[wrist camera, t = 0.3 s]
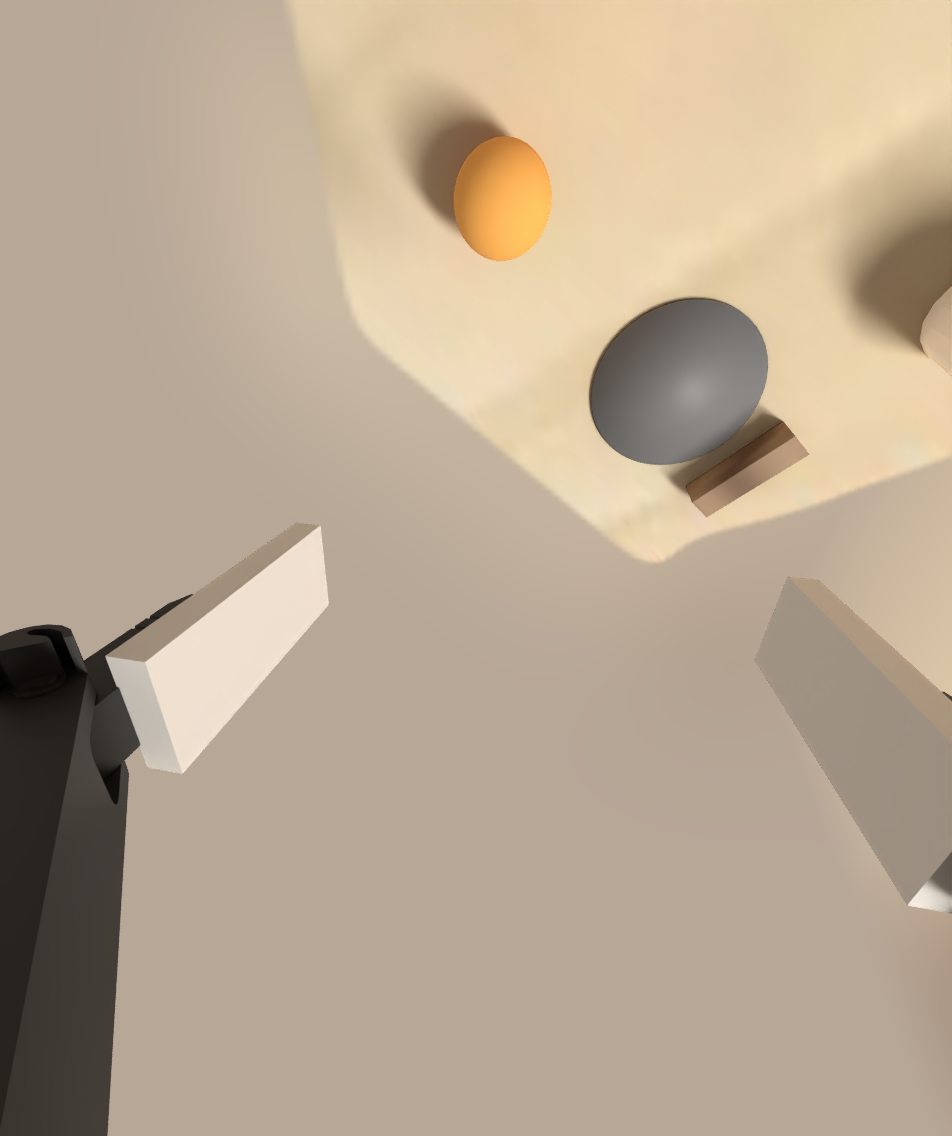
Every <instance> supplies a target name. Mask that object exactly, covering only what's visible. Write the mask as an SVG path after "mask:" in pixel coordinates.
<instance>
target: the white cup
mask: <svg viewBox="0 0 952 1136" xmlns="http://www.w3.org/2000/svg"><path fill="white" fill-rule="evenodd" d="M920 342H921V345H922V348H923V350H924V353H925V354H926V355H927V356H929V357H930V358H931V359H932V360H933V361H934V362H936V363H937V364H938V365H939V366H940V367H942V368H943V369H944V370H945V371H946V372H947V373H949V374H950V375H951V376H952V286H951V287H950V288H949V289H948V290H947V291H946V292H945V293H944V294H943V295H942V296H941V297H940V298H939V299H938V300H937V301H936V302H935V303H934V305H933V306H932V308H931V310H930V311H929V313H928V315H927V316H926V318H925V320H924V321H923V324H922V330H921V335H920Z"/></svg>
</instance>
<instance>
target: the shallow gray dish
mask: <svg viewBox="0 0 952 1136" xmlns="http://www.w3.org/2000/svg"><path fill="white" fill-rule="evenodd" d="M767 371H768V356H767V351H766V346H765V343H764V340H763V338H762V335H761V334H760V332H759V330H758V329H757V327H756V326H755V324H754V323H753V322H752V321H751V320H750V319H749V318H748V317H747V316H746V315H745V314H743V313H742V312H741V311H739V310H738V309H736V308H734V307H732V306H730V305H728V304H725V303H722V302H719V301H713V300H707V299H690V300H682V301H677V302H673V303H670V304H666V305H664V306H661V307H659V308H656V309H654V310H652V311H650V312H648V313H647V314H645V315H643V316H642V317H640V318H639V319H637V320H636V321H634V322H633V323H632V324H631V325H629V326H628V327H627V328H626V329H625V330H624V331H623V332H622V333H621V334H620V335H619V336H618V337H617V338H616V339H615V340H614V341H613V343H612V344H611V346H610V347H609V348H608V350H607V351H606V353H605V355H604V356H603V358H602V360H601V362H600V364H599V366H598V369H597V371H596V374H595V378H594V381H593V387H592V395H591V404H592V412H593V417H594V421H595V424H596V426H597V428H598V430H599V432H600V434H601V435H602V437H603V439H604V440H605V441H606V442H607V443H608V444H609V446H611V447H612V448H613V449H614V450H615V451H617V452H618V453H620V454H621V455H623V456H625V457H627V458H629V459H631V460H634V461H637V462H641V463H646V464H654V465H667V464H675V463H681V462H685V461H689V460H692V459H695V458H697V457H700V456H702V455H704V454H706V453H708V452H710V451H712V450H714V449H715V448H717V447H719V446H720V445H722V444H723V443H724V442H726V441H727V440H728V439H730V438H731V437H732V436H733V435H734V434H735V433H736V432H737V431H738V430H739V429H740V428H741V427H742V426H743V425H744V424H745V422H746V421H747V420H748V419H749V417H750V416H751V414H752V413H753V411H754V410H755V408H756V406H757V404H758V402H759V400H760V398H761V395H762V393H763V390H764V387H765V383H766V379H767Z"/></svg>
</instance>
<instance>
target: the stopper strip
mask: <svg viewBox="0 0 952 1136" xmlns="http://www.w3.org/2000/svg"><path fill="white" fill-rule="evenodd" d="M808 455H809V453H808V452H807V451H806V449H805V448H804V447H803V446H802V444H801V443H800V442H799V440H798V439H797V438H796V437H795V435H794V434H793V433H792V432H791V430H790V429H789V428H788V427H787V425H786V424H785V423H784V422H783V421H782V422H781V423H780V424H778V425H777V426H775V427H774V428H772V429H771V430H769V431H768V432H766V433H765V434H763V435H762V436H760V437H759V438H757V439H756V440H754V441H753V442H751V443H750V444H748V445H747V446H745V447H744V448H742V449H741V450H739V451H738V452H736V453H735V454H733V455H732V456H730V457H729V458H727V459H726V460H724V461H723V462H721V463H720V464H718V465H717V466H716V467H714V468H713V469H711V470H710V471H708V472H707V473H705V474H704V475H702V476H701V477H699V478H698V479H696V480H695V481H693V482H692V483H690V484H689V485H687V486H686V487H687V490H688V493H689V495H690V498H691V501H692V503H693V504H694V505H695V506H696V507H697V508H698V509H699V510H700V511H701V512H702V513H703V514H704V515H705V516H706V517H708V516H709V515H711V514H713V513H714V512H716V511H718V510H719V509H721V508H723V507H724V506H726V505H727V504H729V503H731V502H732V501H734V500H736V499H737V498H739V497H741V496H742V495H744V494H745V493H747V492H749V491H750V490H752V489H754V488H755V487H757V486H759V485H760V484H762V483H763V482H765V481H767V480H768V479H770V478H772V477H773V476H775V475H777V474H778V473H780V472H781V471H783V470H785V469H786V468H788V467H790V466H791V465H793V464H795V463H796V462H798V461H799V460H801V459H803V458H804V457H806V456H808Z"/></svg>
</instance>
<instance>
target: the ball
mask: <svg viewBox="0 0 952 1136" xmlns="http://www.w3.org/2000/svg"><path fill="white" fill-rule="evenodd" d="M550 208H551V186H550V180H549V176H548V173H547V170H546V167H545V165H544V163H543V161H542V159H541V158H540V156H539V155H538V154H537V152H536V151H535V150H534V149H533V148H532V147H531V146H529V145H528V144H527V143H525V142H523V141H522V140H520V139H517V138H514V137H508V136H500V137H495V138H492V139H489V140H487V141H485V142H483V143H482V144H480V145H479V146H477V147H476V148H475V149H474V150H473V151H472V152H471V153H470V154H469V155H468V157H467V158H466V160H465V161H464V163H463V165H462V167H461V169H460V171H459V174H458V176H457V180H456V184H455V190H454V211H455V217H456V221H457V224H458V227H459V230H460V232H461V234H462V236H463V238H464V239H465V241H466V242H467V243H468V245H469V246H470V247H471V248H472V249H473V250H474V251H475V252H477V253H478V254H480V255H481V256H483V257H485V258H488V259H491V260H496V261H506V260H511V259H514V258H517V257H519V256H521V255H522V254H524V253H525V252H527V251H528V250H529V249H530V248H531V247H532V246H533V245H534V244H535V243H536V242H537V240H538V239H539V237H540V236H541V234H542V232H543V230H544V228H545V226H546V224H547V221H548V217H549V213H550Z"/></svg>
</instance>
